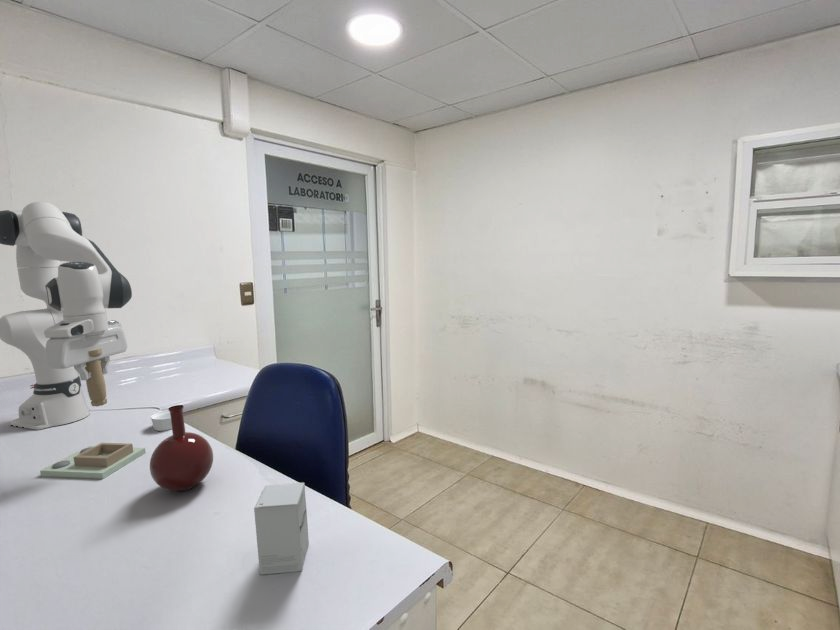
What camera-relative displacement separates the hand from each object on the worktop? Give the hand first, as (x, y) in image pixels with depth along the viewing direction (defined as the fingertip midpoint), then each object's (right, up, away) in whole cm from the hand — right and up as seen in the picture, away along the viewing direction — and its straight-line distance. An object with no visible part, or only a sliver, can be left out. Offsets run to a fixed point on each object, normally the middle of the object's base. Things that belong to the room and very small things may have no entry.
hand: (94, 376), depth 112 cm
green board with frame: (-2, -24, +3) cm, 24 cm away
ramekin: (+3, -21, +28) cm, 35 cm away
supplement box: (+61, -28, -35) cm, 76 cm away
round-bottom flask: (+29, -25, -10) cm, 40 cm away
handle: (+1, -8, +1) cm, 8 cm away
